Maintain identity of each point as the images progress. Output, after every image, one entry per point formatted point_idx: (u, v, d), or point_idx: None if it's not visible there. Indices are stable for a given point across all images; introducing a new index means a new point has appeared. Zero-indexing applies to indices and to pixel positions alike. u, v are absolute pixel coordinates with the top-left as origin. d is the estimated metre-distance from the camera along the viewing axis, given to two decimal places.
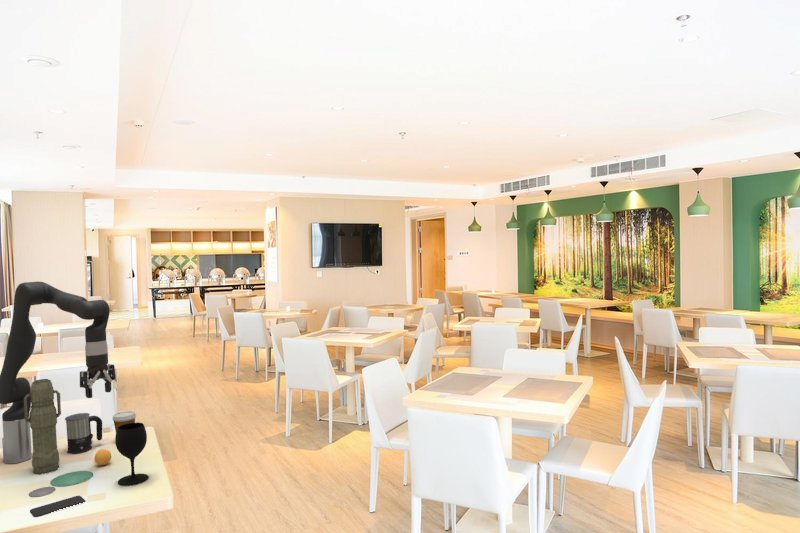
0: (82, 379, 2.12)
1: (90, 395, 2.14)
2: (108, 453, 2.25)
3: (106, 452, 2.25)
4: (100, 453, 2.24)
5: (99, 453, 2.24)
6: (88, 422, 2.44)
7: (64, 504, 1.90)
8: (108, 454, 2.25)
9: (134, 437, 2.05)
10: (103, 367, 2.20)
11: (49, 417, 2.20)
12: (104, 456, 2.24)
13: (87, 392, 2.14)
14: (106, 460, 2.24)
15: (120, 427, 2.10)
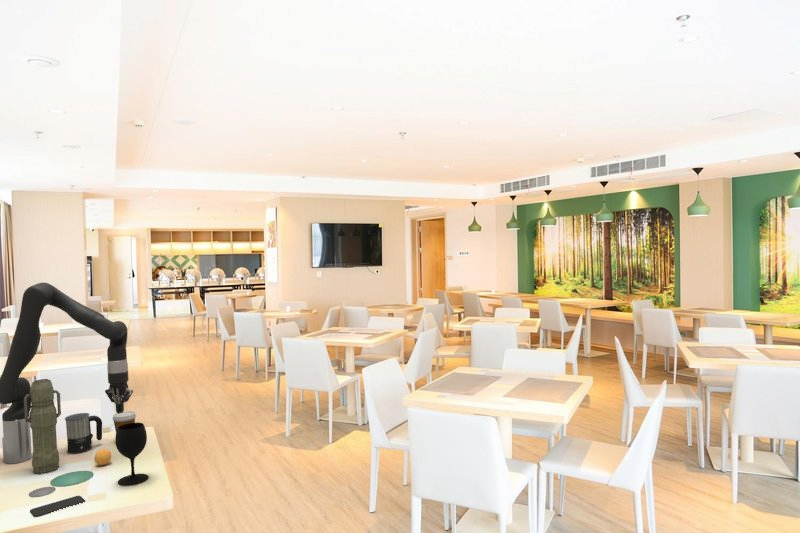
0: (128, 397, 2.33)
1: None
2: (108, 453, 2.25)
3: (106, 452, 2.25)
4: (100, 453, 2.24)
5: (99, 453, 2.24)
6: (88, 422, 2.44)
7: (64, 504, 1.90)
8: (108, 454, 2.25)
9: (134, 437, 2.05)
10: None
11: (49, 417, 2.20)
12: (104, 456, 2.24)
13: (122, 407, 2.34)
14: (106, 460, 2.24)
15: (120, 427, 2.10)
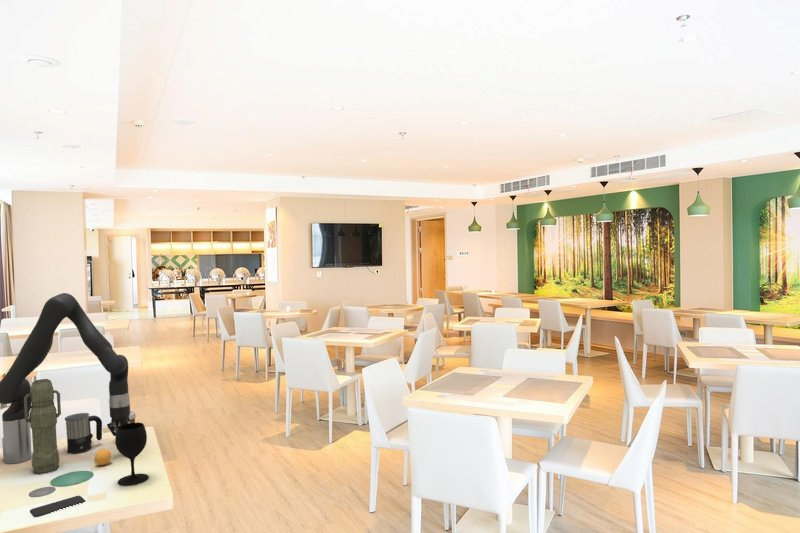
0: None
1: None
2: (108, 453, 2.25)
3: (106, 452, 2.25)
4: (100, 453, 2.24)
5: (99, 453, 2.24)
6: (88, 422, 2.44)
7: (64, 504, 1.90)
8: (108, 454, 2.25)
9: (134, 437, 2.05)
10: None
11: (49, 417, 2.20)
12: (104, 456, 2.24)
13: None
14: (106, 460, 2.24)
15: (120, 427, 2.10)
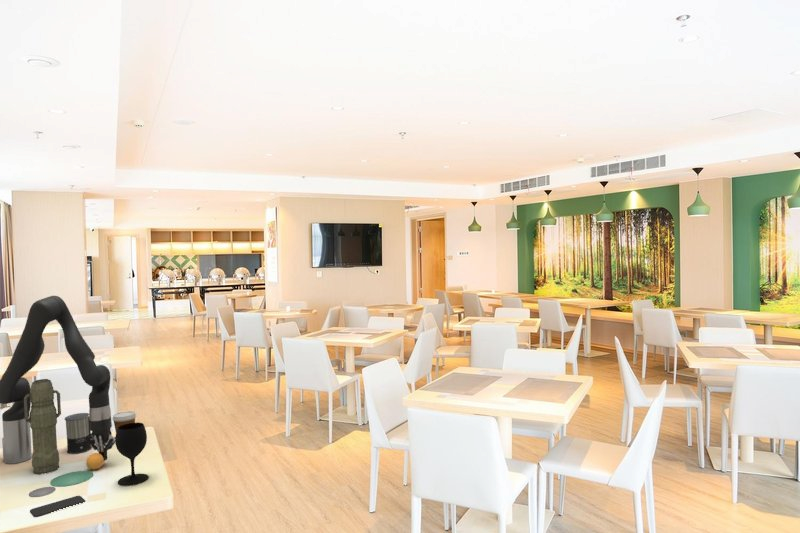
0: (111, 444, 2.24)
1: (106, 457, 2.26)
2: (97, 460, 2.20)
3: (95, 461, 2.19)
4: (90, 464, 2.19)
5: (89, 464, 2.19)
6: (88, 422, 2.44)
7: (64, 504, 1.90)
8: (98, 461, 2.20)
9: (134, 437, 2.05)
10: None
11: (49, 417, 2.20)
12: (96, 465, 2.19)
13: (106, 454, 2.25)
14: (100, 465, 2.21)
15: (120, 427, 2.10)
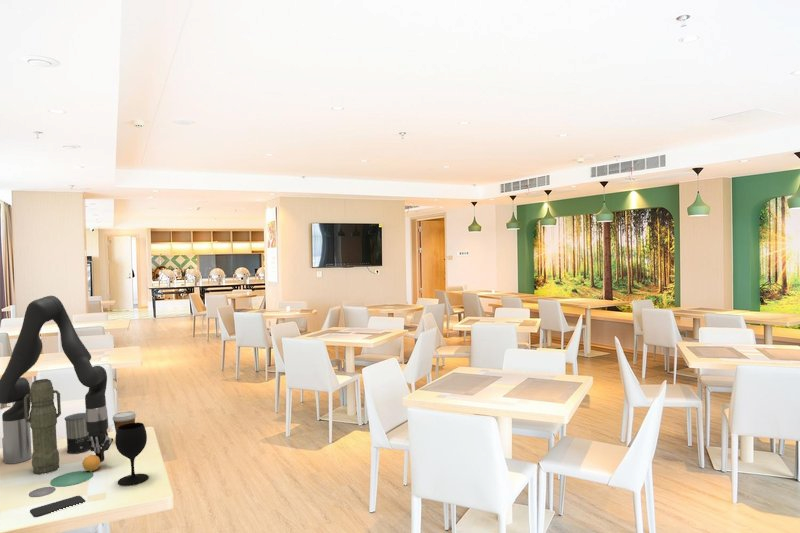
0: (108, 445, 2.22)
1: None
2: (93, 462, 2.18)
3: (91, 464, 2.17)
4: (86, 467, 2.17)
5: (86, 468, 2.17)
6: None
7: (64, 504, 1.90)
8: (94, 463, 2.18)
9: (134, 437, 2.05)
10: None
11: (49, 417, 2.20)
12: (92, 468, 2.18)
13: (103, 456, 2.24)
14: (97, 466, 2.20)
15: (120, 427, 2.10)
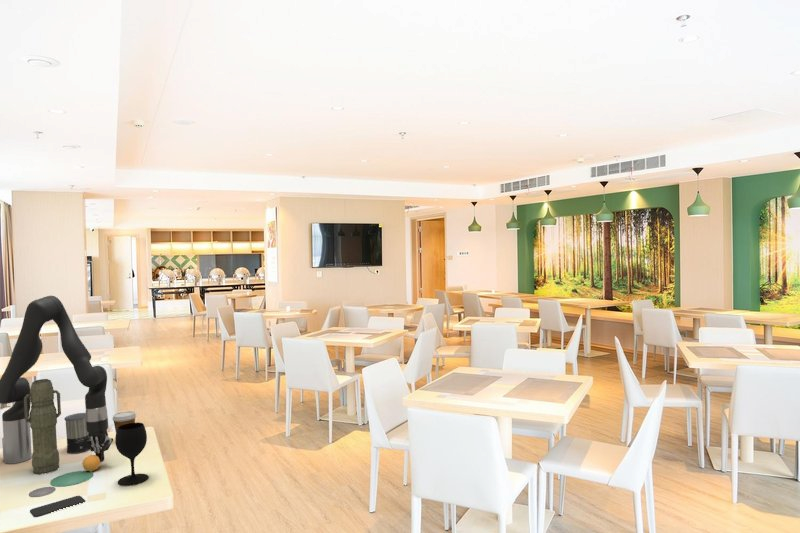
0: (108, 445, 2.22)
1: None
2: (93, 462, 2.18)
3: (91, 464, 2.17)
4: (86, 467, 2.17)
5: (86, 468, 2.17)
6: None
7: (64, 504, 1.90)
8: (94, 463, 2.18)
9: (134, 437, 2.05)
10: None
11: (49, 417, 2.20)
12: (92, 468, 2.18)
13: (103, 456, 2.24)
14: (97, 467, 2.20)
15: (120, 427, 2.10)
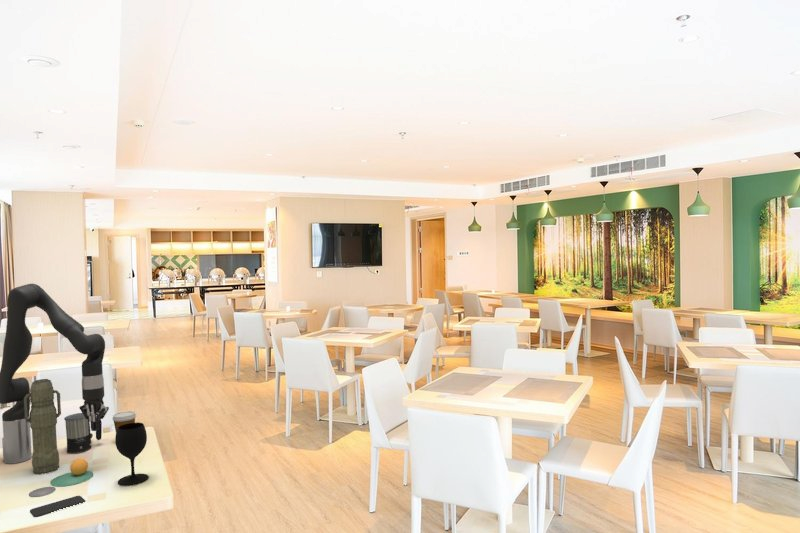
0: (103, 414, 2.21)
1: None
2: (81, 469, 2.14)
3: (81, 471, 2.14)
4: (83, 473, 2.16)
5: (83, 473, 2.16)
6: (87, 422, 2.45)
7: (64, 504, 1.90)
8: (82, 469, 2.14)
9: (134, 437, 2.05)
10: None
11: (49, 417, 2.20)
12: (85, 469, 2.16)
13: (98, 424, 2.23)
14: (86, 464, 2.16)
15: (120, 427, 2.10)
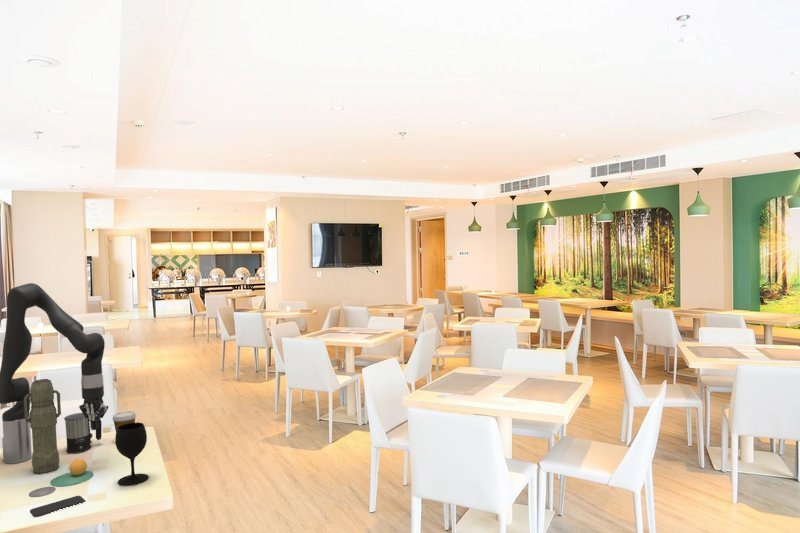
0: (103, 413, 2.21)
1: None
2: (80, 470, 2.14)
3: (80, 472, 2.14)
4: None
5: (82, 473, 2.16)
6: (87, 422, 2.45)
7: (64, 504, 1.90)
8: (81, 469, 2.14)
9: (134, 437, 2.05)
10: None
11: (49, 417, 2.20)
12: (85, 469, 2.16)
13: (97, 423, 2.22)
14: (84, 464, 2.16)
15: (120, 427, 2.10)
